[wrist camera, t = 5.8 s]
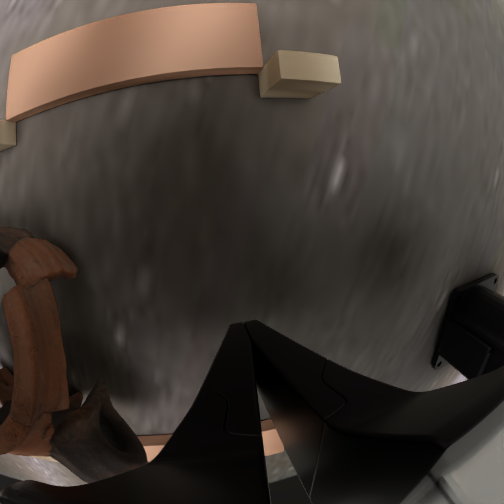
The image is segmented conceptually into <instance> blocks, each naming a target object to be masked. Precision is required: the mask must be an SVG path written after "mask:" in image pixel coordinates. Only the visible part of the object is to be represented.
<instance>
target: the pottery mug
mask: <svg viewBox="0 0 504 504" xmlns="http://www.w3.org/2000/svg"><path fill="white" fill-rule="evenodd" d="M2 267H6V269H7V270H8V273H9V274H10V276H11V277H12V278H13V279H14V281H15V283H16V286H14V287H13V288H12V289H11V290H10V291H9V292H8V293H6V294H5V295H4V297H3V299H2V304H3V308H4V312H5V317H6V321H7V325H8V330H9V335H10V339H11V344H12V349H13V360H14V376H13V375H12V374H11V372H10V371H9V370H8V369H7V368H6V367H4V368H2V369H0V403H1V405H2V407H1V408H0V455H2V454H7V453H10V454H14V455H22V456H44V457H49V456H50V457H51V458H53V459H54V460H56V461H58V462H59V463H61V464H62V465H64V466H65V467H67V468H68V469H69V470H70V471H71V472H73V473H74V474H75V475H76V476H78V477H79V478H80V479H82V480H83V481H85V482H87V483H92V482H96V481H99V480H103V479H106V478H109V477H113V476H116V475H119V474H122V473H125V472H127V471H130V470H133V469H136V468H139V467H141V466H144V465H146V464H147V463H149V462H148V460H147V454H146V451H145V449H144V447H143V445H142V443H141V441H140V440H139V439H138V437H137V436H136V434H135V433H134V432H133V430H132V429H131V428H130V427H129V425H128V424H127V423H126V422H125V421H124V419H123V418H122V417H121V416H120V415H119V414H118V413H117V411H116V410H115V409H114V408H113V406H112V403H111V400H110V397H109V393H108V387H107V384H106V381H105V380H103V379H98V380H97V382H96V384H95V386H94V388H93V390H92V391H91V392H90V393H89V395H88V396H87V398H86V400H85V402H84V403H83V405H82V406H81V404H82V400H83V396H82V395H81V393H79V392H78V393H76V394H74V395H72V396H70V397H69V391H68V381H67V362H66V357H65V353H64V349H63V342H62V336H61V326H60V318H59V313H58V308H57V304H56V300H55V297H54V293H53V291H52V287H51V284H50V282H49V281H51V280H54V279H56V278H58V277H59V278H60V277H62V278H69V279H74V278H75V276H76V274H77V272H78V269H77V267H76V266H75V264H74V263H73V262H72V260H71V259H70V258H69V257H68V256H67V255H66V254H65V253H64V252H63V251H62V250H61V249H60V248H59V247H57V246H55V245H52V244H51V243H50V242H49V241H47V240H45V239H43V240H40V239H36V238H34V236H33V234H32V233H31V232H29V231H27V230H24V229H17V228H10V227H0V268H2Z"/></svg>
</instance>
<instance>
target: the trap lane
mask: <svg viewBox="0 0 504 504" xmlns="http://www.w3.org/2000/svg"><path fill="white" fill-rule="evenodd" d="M228 74H258V78H259V89H260V98H308V99H310V98H312V97H314V96H316V95H318V94H320V93H322V92H324V91H326V90H329V89H331V88H333V87H335V86H337V85H339V84H341V77H340V70H339V63H338V57H337V56H332V55H325V54H318V53H310V52H300V51H288V50H277V51H276V53H275V54H274V55H273V56H272V57H271V59H270V60H269V61H268V62H267V63H266V65H265V66H264V67H263V59H262V49H261V40H260V32H259V23H258V15H257V7H256V4H252V3H208V4H192V5H181V6H172V7H164V8H157V9H151V10H145V11H139V12H134V13H129V14H125V15H120V16H116V17H112V18H108V19H104V20H101V21H97V22H94V23H90V24H87V25H84V26H81V27H78V28H75V29H72V30H69V31H66V32H64V33H61V34H58V35H56V36H53V37H51V38H48V39H46V40H44V41H41V42H39V43H37V44H35V45H32V46H30V47H28V48H26V49H24V50H22V51H20V52H18V53H16V54H14V55H12V59H11V65H10V72H9V81H8V91H7V105H6V120H1V119H0V152H1V151H3V150H5V149H8V148H10V147H13V146H15V145H16V122H18V121H20V120H22V119H25V118H27V117H29V116H32V115H34V114H37V113H40V112H42V111H45V110H48V109H50V108H53V107H56V106H59V105H62V104H65V103H68V102H71V101H74V100H78V99H81V98H85V97H88V96H92V95H95V94H99V93H103V92H107V91H111V90H116V89H120V88H125V87H130V86H135V85H140V84H145V83H151V82H158V81H164V80H171V79H179V78H188V77H198V76H211V75H228ZM261 428H262V436H263V444H264V453H265V456H267V455H272V454H276V453H280V452H284V446H283V443H282V441H281V439H280V437H279V435H278V433H277V431H276V428H275V426H274V424H273V422H272V420H271V419H269V420H264V421H261ZM171 436H172V434H170V435H153V436H137V437H138V439H139V440H140V441H141V443H142V445H143V447H144V449H145V451H146V454H147V460H148V462H150V461H151V460H153V459H154V458H155V457H156V456H157V455H158V454H159V452H160V451H161V450H162V448H163V447H164V446H165V444H166V443H167V441H168V440H169V439H170V437H171ZM31 457H36V458H40V459H45V460H50V461H55V462H58V461H56V460H54V459H53V458H51V457H50V456H49V457H44V456H31Z"/></svg>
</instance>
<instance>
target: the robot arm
mask: <svg viewBox="0 0 504 504" xmlns="http://www.w3.org/2000/svg"><path fill="white" fill-rule="evenodd" d="M497 282H498V275H497V274H495V273H492V274H490V275H488V276H486V277H484V278H481V279H479V280H477V281H475V282H472V283H470V284H468V285H465V286H463V287H460V288H458V289H456V290H454V292H453V293H452V295H451V298H450V302H449V307H448V311H447V315H446V319H445V323H444V326H443V330H442V334H441V337H440V340H439V344H438V347H437V350H436V353H435V356H434V359H433V362H432V367H433V368H434V369H435V370H437V369H439V368H441V367H442V366H444V365H446V364H448V363H449V364H451V365H452V366H453V367H454V368H455V369H456V370H458V371H459V372H460V373H461V374H462V375H463V376H465V377H466V378H467V379H468V380H466V381H463V382H460V383H457V384H453V385H450V386H446V387H443V388H439V389H435V390H431V391H426V392H413V391H407V390H404V389H400V388H397V387H394V386H392V385H389V384H386V383H383V382H380V381H377V380H374V379H371V378H369V377H366V376H363V375H361V374H358V373H356V372H353V371H351V370H349V369H347V368H345V367H343V366H340V365H338V364H336V363H334V362H332V361H331V360H327V359H326V358H325V357H323V356H321V355H319V354H317V353H315V352H313V351H311V350H310V349H308V348H306V347H304V346H302V345H300V344H299V343H297V342H295V341H293V340H291V339H289V338H288V337H286V336H284V335H282V334H280V333H279V332H277V331H275V330H273V329H272V328H270V327H268V326H266V325H265V324H263V323H261V322H259V321H258V320H252V321H246V322H244V323H242V322H240V323H234V324H231V325H230V326H229V328H228V331H227V333H226V335H225V337H224V339H223V341H222V344H221V346H220V348H219V350H218V352H217V354H216V357H215V359H214V361H213V363H212V365H211V367H210V369H209V372H208V374H207V376H206V378H205V380H204V382H203V384H202V386H201V388H200V391H199V393H198V395H197V397H196V399H195V401H194V402H193V404H192V406H191V408H190V409H189V411H188V413H187V414H186V416H185V417H184V419H183V420H182V422H181V423H180V424H179V426H178V427H177V429H176V430H175V432H174V433H173V434H172V436H171V437H170V439H169V440H168V441H167V443H166V444H165V446H164V447H163V448H162V450H161V451H160V452H159V454H158V455H157V456H156V457H155V458H154V459H153V460H151V461H150V462H149V463H147V464H146V465H144V466H141V467H139V468H136V469H133V470H130V471H127V472H125V473H122V474H119V475H116V476H113V477H109V478H106V479H103V480H99V481H96V482H92V483H89V484H84V485H79V486H70V487H65V486H54V485H49V484H45V483H42V482H38V481H33V480H25V481H21V482H18V483H14V484H12V485H9V486H7V487H6V488H4V489H3V490H2V491H1V492H0V502H1V504H271V501H270V493H269V486H268V477H267V469H266V461H265V453H264V444H263V436H262V428H261V419H260V411H259V402H258V394H257V388H258V390H259V393H260V395H261V397H262V400H263V402H264V404H265V406H266V409H267V411H268V413H269V415H270V417H271V420H272V422H273V424H274V426H275V428H276V431H277V433H278V435H279V437H280V439H281V441H282V443H283V446H284V448H285V450H286V452H287V454H288V456H289V458H290V460H291V462H292V464H293V466H294V468H295V470H296V472H297V474H298V476H299V478H300V480H301V482H302V484H303V486H304V488H305V490H306V492H307V494H308V496H309V498H310V500H311V502H312V504H504V297H503V296H501V295H500V294H498V293H496V292H495V291H496V287H497Z"/></svg>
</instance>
